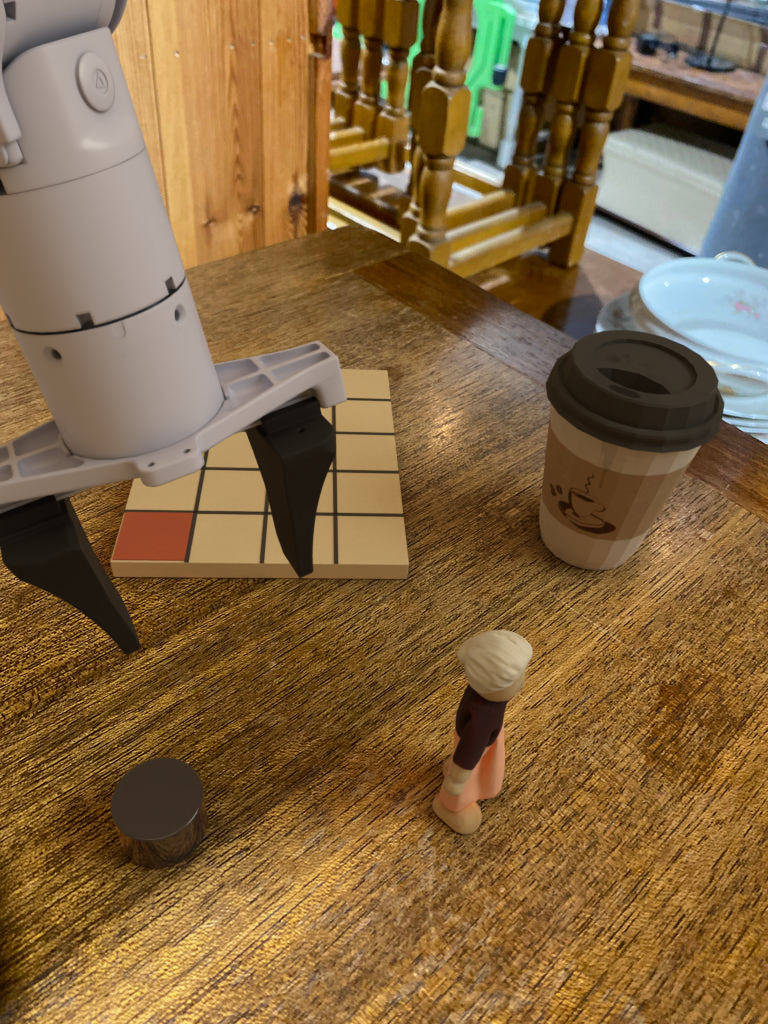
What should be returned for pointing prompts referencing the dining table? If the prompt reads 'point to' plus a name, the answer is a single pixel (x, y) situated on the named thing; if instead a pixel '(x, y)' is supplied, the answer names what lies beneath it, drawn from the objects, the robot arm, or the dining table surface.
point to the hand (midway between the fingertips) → (216, 598)
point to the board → (247, 515)
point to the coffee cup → (620, 441)
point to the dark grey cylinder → (159, 812)
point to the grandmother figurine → (481, 726)
